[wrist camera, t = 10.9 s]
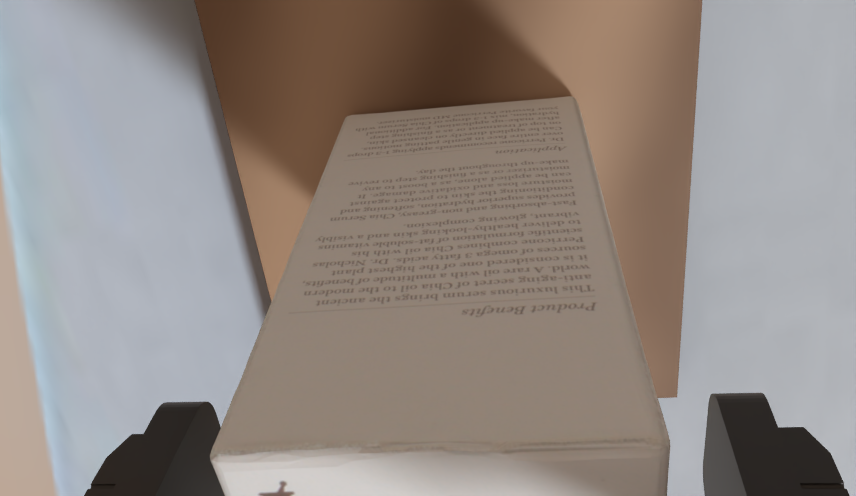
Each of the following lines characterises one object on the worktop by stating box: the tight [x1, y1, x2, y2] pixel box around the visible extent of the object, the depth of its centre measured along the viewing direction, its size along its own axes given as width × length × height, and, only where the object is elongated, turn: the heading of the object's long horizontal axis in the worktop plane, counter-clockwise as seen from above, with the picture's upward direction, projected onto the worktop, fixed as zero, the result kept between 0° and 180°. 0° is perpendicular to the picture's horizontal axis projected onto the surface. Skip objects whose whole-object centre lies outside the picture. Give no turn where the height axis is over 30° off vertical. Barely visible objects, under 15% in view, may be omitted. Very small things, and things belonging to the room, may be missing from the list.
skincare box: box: [210, 96, 670, 496], centre depth 16 cm, size 6×4×12 cm
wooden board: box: [195, 0, 702, 398], centre depth 22 cm, size 12×16×1 cm
